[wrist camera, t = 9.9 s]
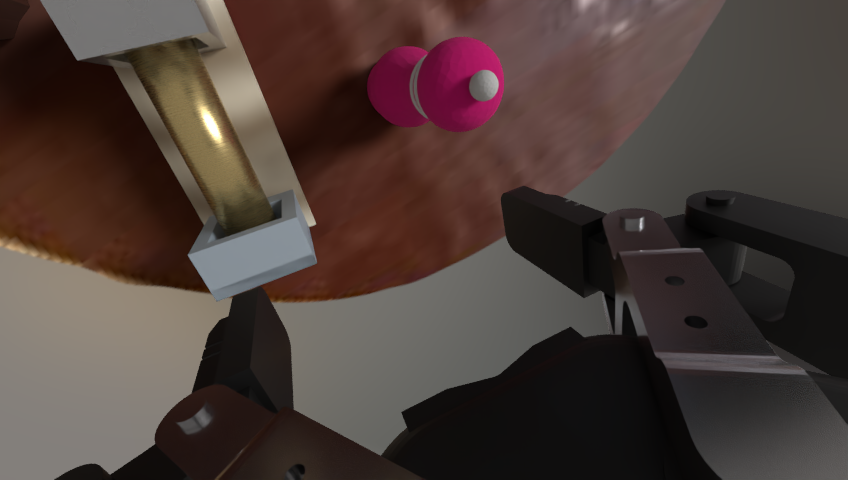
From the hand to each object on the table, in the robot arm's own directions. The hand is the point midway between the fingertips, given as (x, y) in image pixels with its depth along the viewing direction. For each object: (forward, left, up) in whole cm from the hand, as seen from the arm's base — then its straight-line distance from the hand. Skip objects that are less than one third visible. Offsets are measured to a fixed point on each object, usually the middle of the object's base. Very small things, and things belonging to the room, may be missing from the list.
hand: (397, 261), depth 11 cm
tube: (-4, -8, -26) cm, 27 cm away
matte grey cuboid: (-12, -8, -30) cm, 34 cm away
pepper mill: (-3, +10, -30) cm, 32 cm away
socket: (+6, -8, -29) cm, 31 cm away
